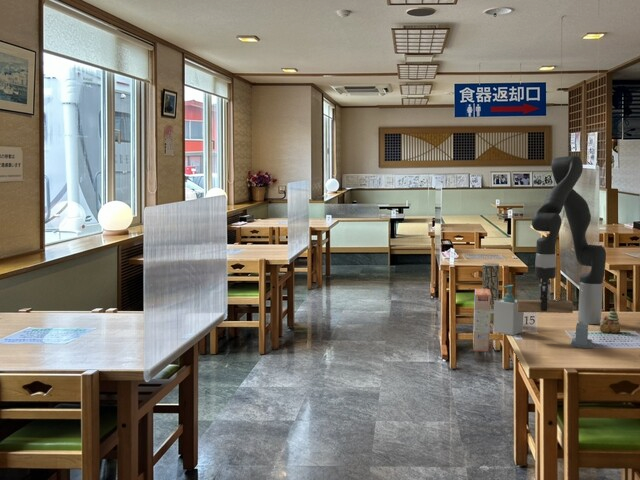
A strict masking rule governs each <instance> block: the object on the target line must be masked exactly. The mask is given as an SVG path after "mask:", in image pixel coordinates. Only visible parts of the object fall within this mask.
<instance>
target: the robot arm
mask: <svg viewBox="0 0 640 480" xmlns="http://www.w3.org/2000/svg"><path fill="white" fill-rule="evenodd" d="M550 165H551V172H552V173H551V174H552V177H553V179H554V182H555V183H556V185H555V186H554V187H552V188H551V189H550V191H549V192H548V194H547V195H546V198H545V200H544V202H543V204H542V205H541V206H540V207H539V208H538V210H536V212H535V213H534V215H533V217H532V220H531V226H532V228H533V229H534V231H536V232H547V233H548V232H549V233H548V236H545V237H538V239H536V250H535V251H536V253H535V266H534V267H535V269H534V270H535V271H534V277H535V278H536V279H540V280H541V281H540V282H539V284H538V285H539V295H540V298H539V300H541V311H547V301H548V300H549V299H550V293H551V286H552V282H551V281H550V280H551V279H553V280H554V279H555V278H556V277H557V275H556V274H557V255H556V251H557V250H556V249H557V240H558V237H559V233H560V230H561V227H562V220H563V219H562V217H561V215H560V214H561V212H562V210H563V208H564V211H565V215H566V220H567V223H568V225H569V229H570V231H571V232H570V233H571V237H572V240H573V246H574V253H575V258H576V260H577V261H576V262H578V264H579V265H581V266H585V267H590V271H589V272H588V273H583V274H581V275H580V276H579V290H578V292H579V293H578V318H577V323H587V324H588V325H600V321H601V320H602V312H603V311H602V309H603V308H602V307H603V285H604V278H605V275H606V274H605V270H606V264H607V263H606V260H607V253H606V249H605V247H604V246H602V245H599V244H597V245H596V244H588V242H587V237H586V233H587V231H588V229H589V226H590V224H591V220H592V215H591V212H590V208H589V203H588V202H587V200H586V199H584V197H583V196H581V194H580V193H579V192H577V191H576V190H575V189H574V188H575V185H576V184H577V182H578V181H579V179H580V177H581V176H582V173H583V169H584V166H583V165H584V164H583V161H582V159H581V157H580V156H578V155H568V156H559V157H555V158H554V159H552V161H551V164H550Z"/></svg>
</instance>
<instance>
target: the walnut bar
mask: <svg viewBox="0 0 640 480" xmlns="http://www.w3.org/2000/svg"><path fill="white" fill-rule="evenodd" d="M517 311H518V312H524V313H548V314H549V313H551V314H553V313H554V314H573V312H574V302H573V301H572V300H564V299H563V300H562V299H561V300H554V299H553V300H552V299H551V300H550V299H548V301H547V311H541V300H540V299H517Z"/></svg>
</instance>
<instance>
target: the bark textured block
mask: <svg viewBox="0 0 640 480" xmlns="http://www.w3.org/2000/svg"><path fill="white" fill-rule="evenodd" d="M481 281H482V285H481V289H490V292H491V315H490V323H494V301H495V300H499V289H500V287H499V286H500V285H499V282H500V263H499V262H483V263H482V280H481Z"/></svg>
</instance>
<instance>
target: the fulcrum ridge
mask: <svg viewBox="0 0 640 480" xmlns="http://www.w3.org/2000/svg"><path fill="white" fill-rule="evenodd" d="M588 333H589V324H587V323H580V322H577V323H576V327H575V337H572V338H571V341H570V342H571V343H570V347H573V348H583V349H592V342H593V340H592V339H589V338H588V336H589V335H588Z"/></svg>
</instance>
